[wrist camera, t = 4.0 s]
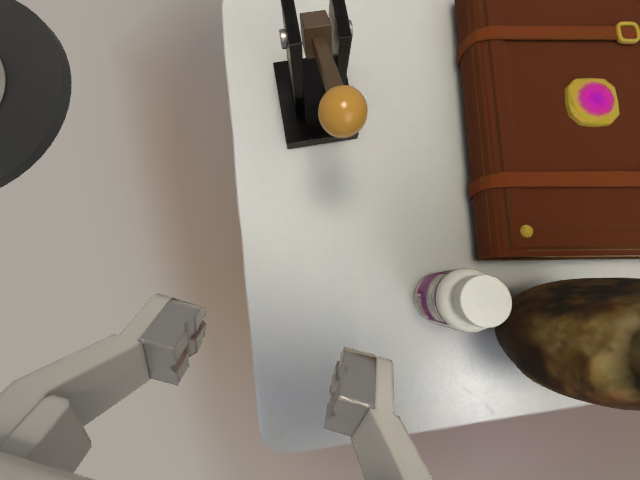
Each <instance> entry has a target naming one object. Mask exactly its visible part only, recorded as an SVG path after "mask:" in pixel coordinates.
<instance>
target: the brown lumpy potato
mask: <svg viewBox="0 0 640 480" xmlns="http://www.w3.org/2000/svg"><path fill="white" fill-rule="evenodd" d="M511 299H512V309H511V312H510V314H509V316H508V318H507V319H506V320H505V321H504V322H503V323H502V324H500V325H498V326H496V327H495V334H496V337H497V340H498V342H499V344H500V346H501V347H502V349H503V351H504V352H505V353H506V354H507V356H508V357H509V358H510V359H511V360H512V361H513V362H514V363H515V364H516V366H517V367H518V368H519V369H520V370H521V372H522V373H523V374H525V375H526V376H527V377H528V378H530V379H531V380H532V381H534V382H536V383H538V384H540V385H542V386H544V387H546V388H548V389H550V390H552V391H554V392H557V393H559V394H562V395H565V396H568V397H571V398H574V399H577V400H581V401H585V402H589V403H592V404H597V405H601V406H606V407H611V408H617V409H623V410H640V279H637V278H582V279H570V280H560V281H555V282H550V283H545V284H542V285H539V286H536V287H532V288H530V289H528V290H526V291H523V292H521V293H519V294H518V295H516V296H514V297H513V298H511Z"/></svg>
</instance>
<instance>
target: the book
mask: <svg viewBox="0 0 640 480" xmlns="http://www.w3.org/2000/svg"><path fill="white" fill-rule="evenodd" d="M455 9H456V20H457V31H458V43H459V49H458V51H457V60H458V66H459V68H461V76H462V87H463V98H464V109H465V121H466V132H467V143H468V154H469V165H470V176H471V184H470V185H469V194H470V199H471V200H473V210H474V221H475V232H476V243H477V254H478V260H571V259H640V0H455Z"/></svg>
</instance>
